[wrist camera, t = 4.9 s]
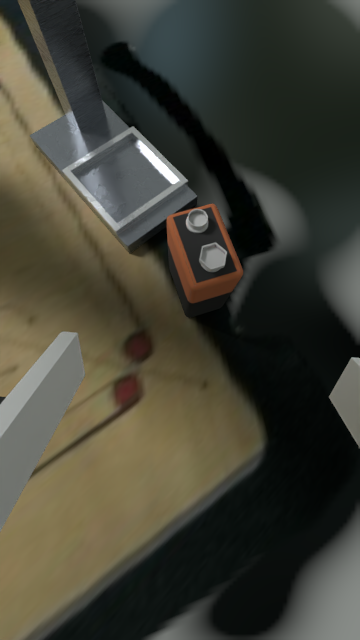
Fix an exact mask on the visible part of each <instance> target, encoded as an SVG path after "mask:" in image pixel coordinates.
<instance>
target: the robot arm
mask: <svg viewBox="0 0 360 640" xmlns="http://www.w3.org/2000/svg"><path fill="white" fill-rule="evenodd" d="M84 376H85V371H84V366H83V360H82V354H81V349H80V343H79V338H78V333H73V332H61V333H60V334H59V335H58V336H57V338H56V339H55V340H54V341H53V342H52V344H51V345H50V346H49V347H48V348H47V349H46V351H45V352H44V353H43V354H42V355H41V357H40V358H39V359H38V360H37V361H36V363H35V364H34V365H33V366H32V367H31V368H30V370H29V371H28V372H27V373H26V374H25V376H24V377H23V378H22V379H21V380H20V381H19V383H18V384H17V385H16V386H15V387H14V389H13V390H12V391H11V392H10V393H9V395H8V396H7V397H0V531H1V529H2V527H3V526H4V524H5V522H6V520H7V518H8V516H9V514H10V513H11V511H12V509H13V507H14V505H15V503H16V502H17V500H18V498H19V496H20V494H21V492H22V491H23V489H24V487H25V485H26V483H27V481H28V480H29V478H30V476H31V474H32V472H33V470H34V468H35V467H36V465H37V463H38V461H39V459H40V457H41V456H42V454H43V452H44V450H45V448H46V446H47V445H48V443H49V441H50V439H51V437H52V435H53V433H54V432H55V430H56V428H57V426H58V424H59V422H60V421H61V419H62V417H63V415H64V413H65V411H66V410H67V408H68V406H69V404H70V402H71V400H72V398H73V397H74V395H75V393H76V391H77V389H78V387H79V386H80V384H81V382H82V380H83V378H84ZM329 398H330V400H331V402H332V403H333V405H334V407H335V408H336V410H337V411H338V413H339V415H340V416H341V418H342V420H343V421H344V423H345V425H346V426H347V428H348V430H349V431H350V433H351V435H352V436H353V438H354V440H355V441H356V443H357V444H358V446H359V448H360V358H353V357H352V358H351V359H350V361H349V363H348V365H347V366H346V368H345V370H344V372H343V373H342V375H341V377H340V379H339V380H338V382H337V384H336V385H335V387H334V389H333V391H332V392H331V394H330V396H329Z"/></svg>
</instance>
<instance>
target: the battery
mask: <svg viewBox="0 0 360 640" xmlns="http://www.w3.org/2000/svg"><path fill="white" fill-rule="evenodd" d="M167 238H168V255H169V268H170V271H171V274H172V277H173V280H174V283H175V286H176V289H177V292H178V295H179V298H180V301H181V304H182V307H183V310H184V313H185V315H186V317H188V318H191V317H194V316H197V315H201V314H204V313H207V312H210V311H213V310H217V309H220V308H221V307H222V306H223V305H224V303H225V301H226V300H227V298H228V297H229V295H230V294H231V292H232V291H233V289H234V288H235V286H236V285H237V283H238V282H239V280H240V279H241V277H242V275H243V269H242V267H241V264H240V262H239V259H238V257H237V255H236V252H235V250H234V247H233V245H232V242H231V240H230V238H229V235H228V233H227V230H226V228H225V225H224V223H223V221H222V218H221V216H220V213H219V211H218V209H217V207H216V206H215V205H214V204H209V205H205V206H201V207H198V208H194V209H190V210H186V211H183V212H179V213H175V214H172V215H169V216H168V217H167Z"/></svg>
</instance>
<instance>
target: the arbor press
mask: <svg viewBox="0 0 360 640" xmlns="http://www.w3.org/2000/svg"><path fill="white" fill-rule="evenodd" d="M18 2H19V4H20V7H21V9H22V12H23V14H24V16H25V19H26V21H27V23H28V26H29V28H30V31H31V33H32V35H33V38H34V40H35V43H36V45H37V47H38V50H39V52H40V55H41V57H42V59H43V62H44V64H45V66H46V69H47V71H48V74H49V76H50V78H51V81H52V83H53V86H54V88H55V90H56V93H57V95H58V98H59V100H60V102H61V105H62V107H63V110H64V112H65V114H66V115H64V116H63V117H61V118H59V119H57V120H56V121H54V122H52V123H50V124H49V125H47V126H45V127H43V128H42V129H40V130H38V131H37V132H35V133H33V134H31V135H30V137H31V139H32V140H33V142H34V144H35V145H36V147H37V148H38V149H39V150H40V151H41V153H42V154H43V155H44V156H45V157H46V158H47V159H48V161H49V162H50V163H51V164H52V165H53V166H54V167H55V169H56V170H57V171H58V172H59V173H60V174H61V175H62V177H63V178H64V179H65V180H66V181H67V182H68V184H69V185H70V186H71V187H72V188H73V189H74V190H75V192H76V193H77V194H78V195H79V196H80V197H81V198H82V200H83V201H84V202H85V203H86V204H87V205H88V206H89V208H90V209H91V210H92V211H93V212H94V213H95V214H96V216H97V217H98V218H99V219H100V220H101V221H102V222H103V224H104V225H105V226H106V227H107V228H108V229H109V230H110V232H111V233H112V234H113V235H114V236H115V237H116V238H117V240H118V241H119V242H120V243H121V244H122V245H123V247H124V248H125V249H126V250H127V251H128V252H129V253H131V252H132V251H134V250H135V249H137V248H138V247H139V246H141V245H142V244H144V243H145V242H146V241H148V240H149V239H150V238H152V237H153V236H155V235H156V234H157V233H159V232H160V231H161V230H163V229H164V228H166V227H167V217H168V216H169V215H172V214H175V213H179V212H183V211H186V210H190V209H192V208H193V207H194V206H196V205H197V195H196V194H195V193H194V192H193V191H192V190H191V189H190V188H189V187H188V180H187V179H186V178H185V177H184V176H183V175H182V174H181V173H180V172H179V171H178V170H177V169H176V168H175V167H174V166H173V165H172V164H171V163H170V162H169V161H168V160H167V159H166V158H165V157H164V156H163V155H162V154H161V153H160V152H159V151H158V150H157V149H156V148H155V147H154V146H153V145H152V144H151V143H150V142H149V141H148V140H147V139H146V138H145V137H144V136H143V135H142V134H141V133H140V132H139V131H138V130H137V129H136V128H135V127H134V126H132V127H131V128H129V127H128V126H127V125H126V124H125V123H124V122H123V121H122V120H121V119H120V118H119V117H118V116H117V115H116V114H115V113H114V112H113V111H112V110H111V109H110V108H109V107H108V106H107V105H106V104H105V103H104V102H103V101H102V99H101V95H100V91H99V87H98V84H97V80H96V76H95V72H94V69H93V65H92V61H91V57H90V54H89V50H88V46H87V42H86V39H85V35H84V32H83V27H82V24H81V20H80V16H79V12H78V9H77V5H76V1H75V0H18Z"/></svg>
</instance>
